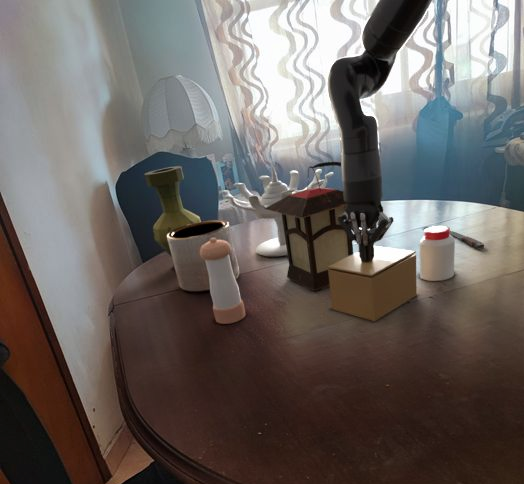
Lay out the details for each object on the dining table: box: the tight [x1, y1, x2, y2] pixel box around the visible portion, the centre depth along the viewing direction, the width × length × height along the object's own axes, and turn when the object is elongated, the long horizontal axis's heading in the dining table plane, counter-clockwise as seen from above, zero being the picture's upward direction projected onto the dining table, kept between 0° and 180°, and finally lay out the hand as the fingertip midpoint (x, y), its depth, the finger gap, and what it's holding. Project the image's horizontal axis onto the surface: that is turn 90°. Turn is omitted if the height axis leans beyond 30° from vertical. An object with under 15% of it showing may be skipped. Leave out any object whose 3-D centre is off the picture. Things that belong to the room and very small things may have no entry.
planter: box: [167, 219, 240, 293], centre depth 131 cm, size 18×18×16 cm
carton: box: [328, 245, 418, 322], centre depth 101 cm, size 15×12×10 cm
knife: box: [424, 226, 485, 249], centre depth 132 cm, size 28×1×5 cm
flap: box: [328, 255, 394, 276], centre depth 97 cm, size 7×12×1 cm, turn 40°
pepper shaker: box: [200, 238, 246, 325], centre depth 105 cm, size 7×7×19 cm
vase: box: [144, 165, 202, 271], centre depth 146 cm, size 16×16×30 cm
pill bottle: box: [418, 225, 456, 282], centre depth 108 cm, size 8×8×11 cm
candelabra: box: [219, 162, 334, 258], centre depth 144 cm, size 34×35×27 cm
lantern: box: [265, 142, 382, 292], centre depth 116 cm, size 18×26×30 cm
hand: (367, 260), depth 98 cm, fingers closed
